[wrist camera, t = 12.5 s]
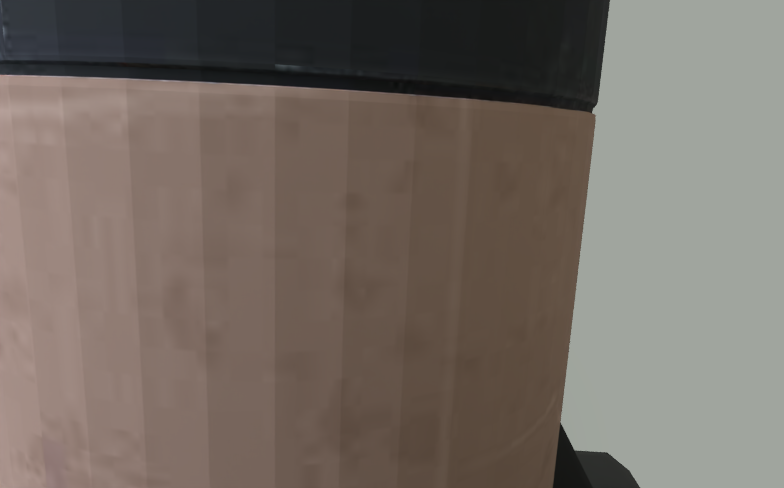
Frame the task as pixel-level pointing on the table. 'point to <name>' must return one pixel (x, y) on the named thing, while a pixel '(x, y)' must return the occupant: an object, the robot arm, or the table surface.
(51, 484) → the travel mug
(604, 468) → the robot arm
